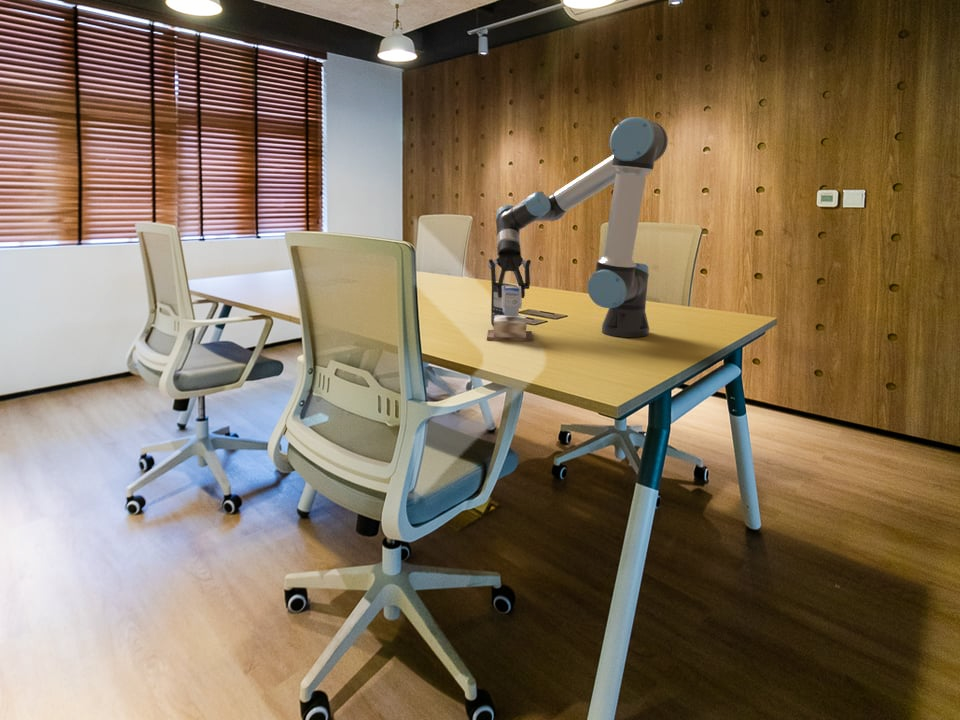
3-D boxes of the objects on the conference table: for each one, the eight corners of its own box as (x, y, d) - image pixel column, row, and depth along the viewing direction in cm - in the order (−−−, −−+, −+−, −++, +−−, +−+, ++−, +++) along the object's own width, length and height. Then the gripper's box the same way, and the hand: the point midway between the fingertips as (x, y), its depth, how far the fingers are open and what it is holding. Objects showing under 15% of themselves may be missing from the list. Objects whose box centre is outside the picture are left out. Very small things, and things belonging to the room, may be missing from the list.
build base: (531, 334, 196) (532, 315, 194) (532, 341, 185) (533, 322, 184) (488, 332, 196) (488, 314, 195) (486, 340, 186) (487, 321, 184)
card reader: (489, 326, 207) (490, 282, 204) (498, 324, 210) (499, 281, 206) (506, 330, 200) (507, 285, 196) (515, 329, 202) (516, 284, 199)
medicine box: (502, 311, 193) (502, 284, 190) (516, 311, 193) (517, 284, 191) (504, 316, 185) (505, 287, 183) (518, 316, 185) (519, 288, 183)
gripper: (534, 254, 200) (539, 312, 188) (481, 254, 199) (482, 312, 187) (537, 239, 193) (542, 298, 181) (482, 238, 193) (483, 298, 181)
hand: (511, 305), depth 184 cm, fingers open, 4 cm apart
